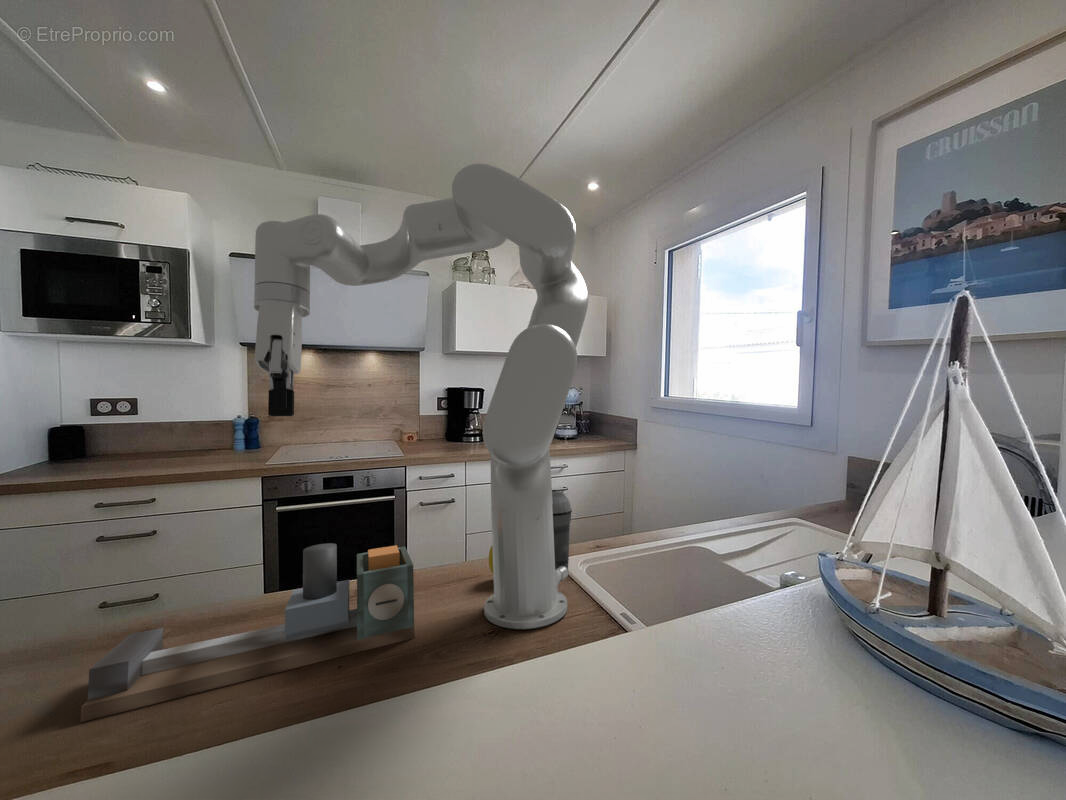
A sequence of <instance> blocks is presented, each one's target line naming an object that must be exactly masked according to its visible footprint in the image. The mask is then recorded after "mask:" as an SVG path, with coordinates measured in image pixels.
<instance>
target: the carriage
mask: <svg viewBox="0 0 1066 800" xmlns="http://www.w3.org/2000/svg"><path fill="white" fill-rule="evenodd" d="M337 546H338V545H337V544H336V543H331V542H330V543H329V542H328V543H319V544H314V545H310V546H307V547H305V548H304V549H303V550H302V556H303V557H302V587H301V588H296V589H293V590H292V592H291V595H290V597H289V600H288V602H287V604H286V606H285V608H284V624H285V635H286V640H289V639H293V638H297V637H302V636H306V635H311V634H315V633H320V632H324V631H329V630H333V629H337V628H342V627H346V626H349V610H350V579H345V580H341V581H337V580H338V576H337V575H338V574H337V573H338V569H337V568H338V567H337V566H338V565H337V564H338V562H337V561H338V558H337V557H338V555H337V554H338V553H337V552H338V551H337V550H338V549H337V548H338V547H337Z"/></svg>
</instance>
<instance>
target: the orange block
mask: <svg viewBox="0 0 1066 800" xmlns="http://www.w3.org/2000/svg"><path fill="white" fill-rule="evenodd" d="M398 548H399V547H398V545H397V544H395V545H389V546H382V547H377V548H371V549H368V550H367V552H368V571H371V570H377V569H382V568H388V567H394V566H400V556H399V550H398Z"/></svg>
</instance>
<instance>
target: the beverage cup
mask: <svg viewBox="0 0 1066 800" xmlns="http://www.w3.org/2000/svg"><path fill="white" fill-rule="evenodd" d="M552 502H553V504H552V510H553V532H554V553H555V570H556V569H557V568H559V567H561V566H564V567H565V568H566V569H567V570H569V559H570V557H569V555H570V525H571V521H572V513H573V511H572V507H571V501H570V500H569V498H568V497H567V495H566V494H565V493H563V492H562V491H560V490H558V489H552Z"/></svg>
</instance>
